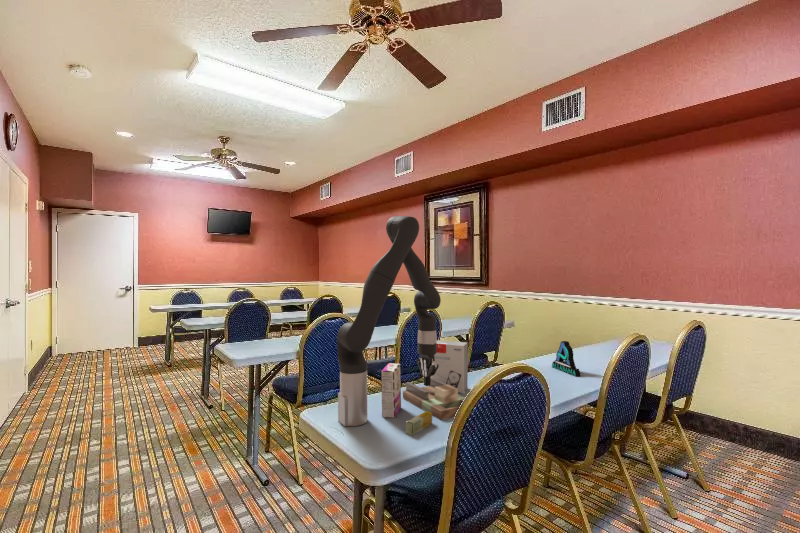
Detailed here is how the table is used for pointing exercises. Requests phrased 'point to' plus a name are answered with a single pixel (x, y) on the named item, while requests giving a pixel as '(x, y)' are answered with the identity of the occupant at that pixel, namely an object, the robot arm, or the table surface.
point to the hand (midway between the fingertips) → (427, 385)
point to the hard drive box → (452, 364)
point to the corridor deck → (431, 400)
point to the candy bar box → (391, 390)
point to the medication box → (418, 423)
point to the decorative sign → (567, 355)
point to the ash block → (446, 394)
